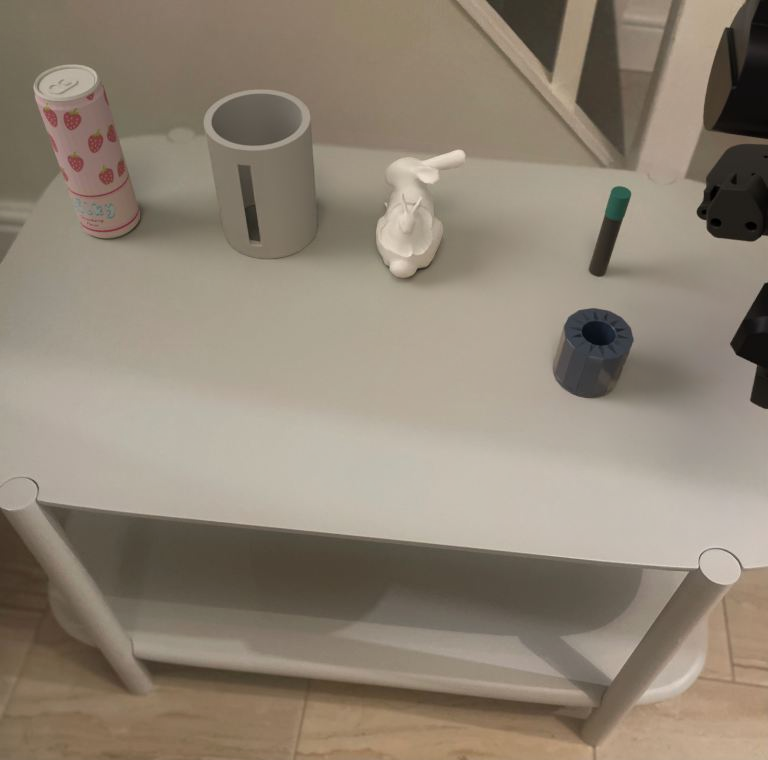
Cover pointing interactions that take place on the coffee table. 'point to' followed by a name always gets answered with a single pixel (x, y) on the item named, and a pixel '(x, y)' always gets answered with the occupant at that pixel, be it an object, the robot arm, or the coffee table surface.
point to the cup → (263, 170)
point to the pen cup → (592, 352)
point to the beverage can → (87, 149)
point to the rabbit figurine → (412, 213)
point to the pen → (609, 229)
